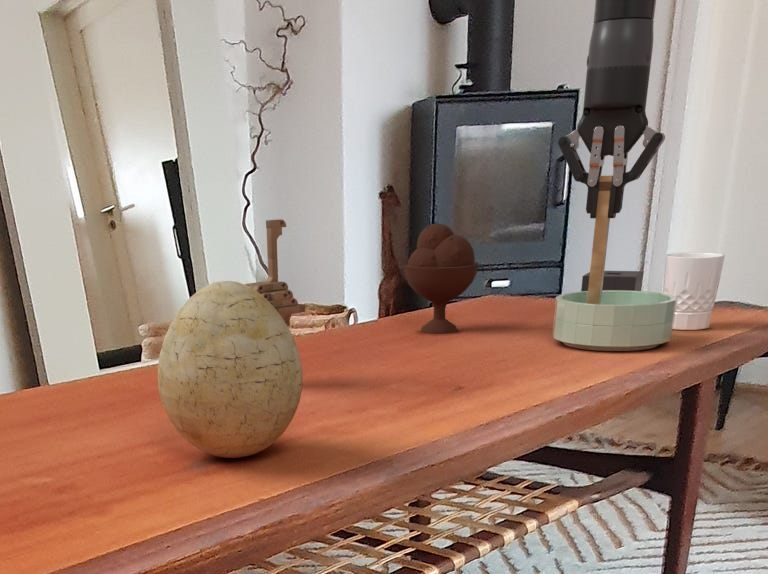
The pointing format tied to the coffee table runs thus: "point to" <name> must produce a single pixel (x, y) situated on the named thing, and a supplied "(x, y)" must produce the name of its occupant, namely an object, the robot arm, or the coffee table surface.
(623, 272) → the utensil holder
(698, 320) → the white cup
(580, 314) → the mixing bowl
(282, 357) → the fossilized egg
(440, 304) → the ice cream bowl
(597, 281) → the stirring stick
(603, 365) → the coffee table surface
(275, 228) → the wooden hook post
